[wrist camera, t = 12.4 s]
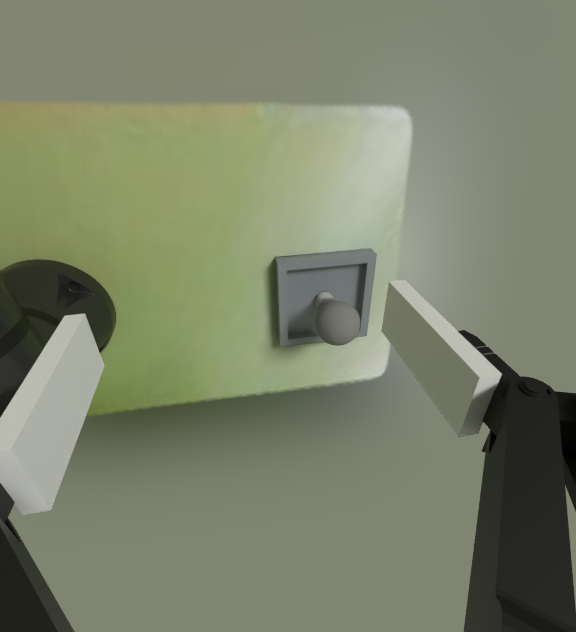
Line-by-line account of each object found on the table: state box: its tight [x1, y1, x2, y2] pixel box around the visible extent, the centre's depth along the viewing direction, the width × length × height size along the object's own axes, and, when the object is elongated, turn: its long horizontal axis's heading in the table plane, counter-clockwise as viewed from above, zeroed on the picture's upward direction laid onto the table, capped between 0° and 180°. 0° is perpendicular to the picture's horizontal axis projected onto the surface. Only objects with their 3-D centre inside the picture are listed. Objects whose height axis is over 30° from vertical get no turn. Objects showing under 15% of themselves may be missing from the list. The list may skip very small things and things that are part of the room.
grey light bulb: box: [315, 292, 360, 345], centre depth 50 cm, size 6×6×10 cm
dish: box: [275, 248, 377, 347], centre depth 54 cm, size 14×14×2 cm
